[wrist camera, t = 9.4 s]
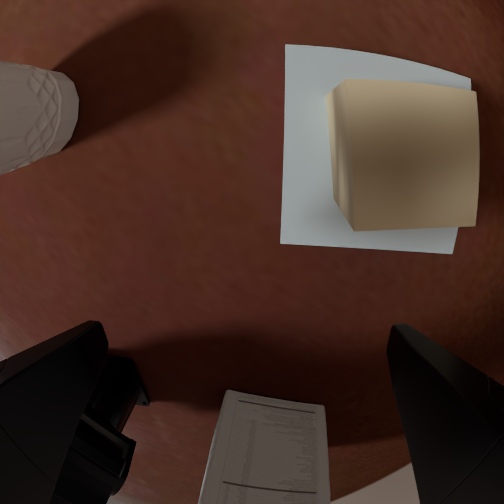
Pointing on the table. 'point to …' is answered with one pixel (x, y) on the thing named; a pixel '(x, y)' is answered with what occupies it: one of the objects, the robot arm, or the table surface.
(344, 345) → the table surface
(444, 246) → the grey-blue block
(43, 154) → the white cup
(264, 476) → the supplement box
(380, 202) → the birch cube
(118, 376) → the robot arm
